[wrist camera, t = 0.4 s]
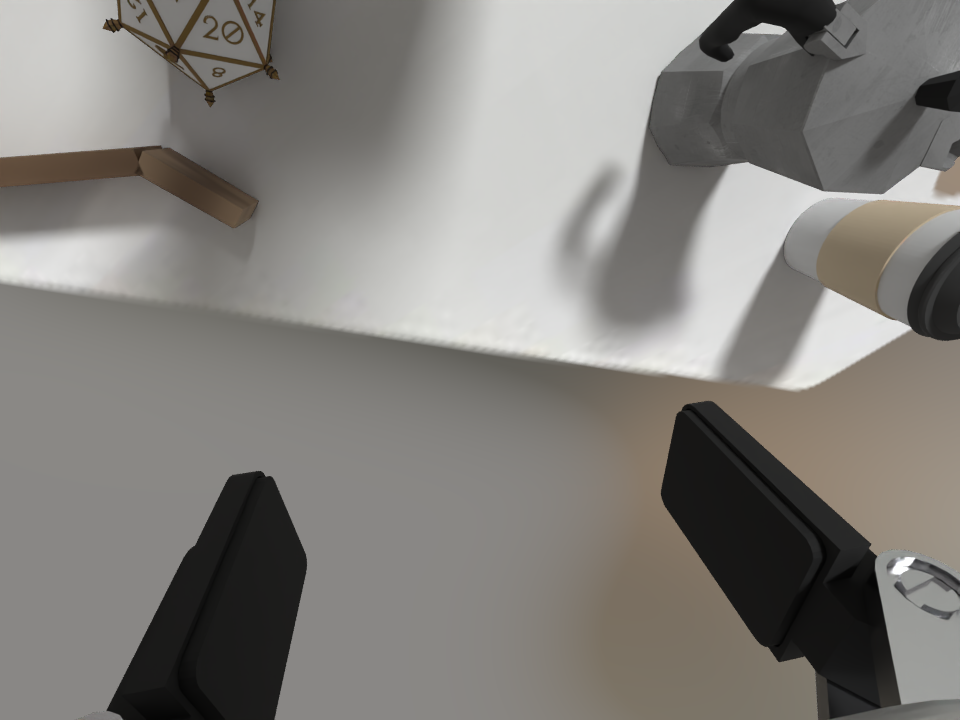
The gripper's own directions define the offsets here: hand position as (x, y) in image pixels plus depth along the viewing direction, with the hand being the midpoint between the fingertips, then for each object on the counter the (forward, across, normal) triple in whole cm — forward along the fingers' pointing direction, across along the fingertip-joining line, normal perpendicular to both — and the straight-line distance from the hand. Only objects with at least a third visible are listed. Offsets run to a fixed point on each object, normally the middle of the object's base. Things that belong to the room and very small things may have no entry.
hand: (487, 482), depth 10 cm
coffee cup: (+28, -36, +4) cm, 46 cm away
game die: (+28, +11, -14) cm, 33 cm away
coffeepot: (+28, -21, -8) cm, 36 cm away
